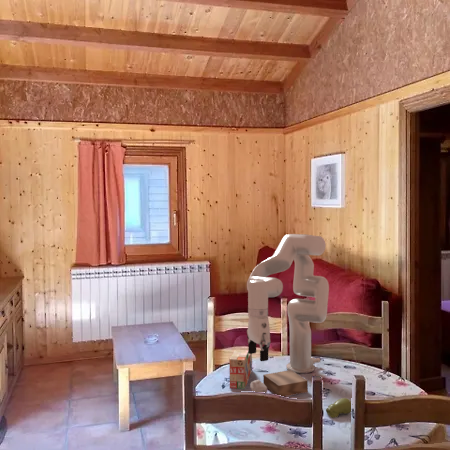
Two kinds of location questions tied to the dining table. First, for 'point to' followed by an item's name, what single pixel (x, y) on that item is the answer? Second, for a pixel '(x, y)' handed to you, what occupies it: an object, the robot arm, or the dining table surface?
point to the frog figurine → (258, 386)
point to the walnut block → (285, 383)
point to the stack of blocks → (240, 368)
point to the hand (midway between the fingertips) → (258, 356)
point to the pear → (339, 407)
